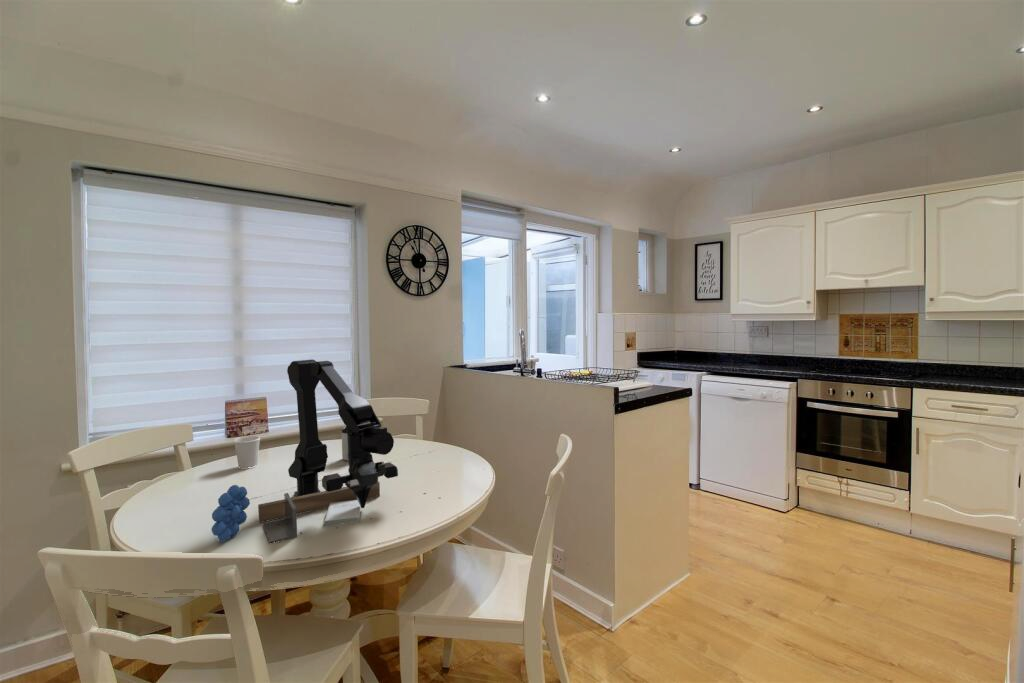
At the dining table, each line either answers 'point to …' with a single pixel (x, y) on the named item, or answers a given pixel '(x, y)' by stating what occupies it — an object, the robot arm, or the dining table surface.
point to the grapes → (230, 512)
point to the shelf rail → (311, 502)
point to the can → (344, 446)
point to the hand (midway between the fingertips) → (362, 507)
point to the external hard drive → (342, 512)
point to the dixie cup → (247, 451)
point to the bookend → (283, 524)
